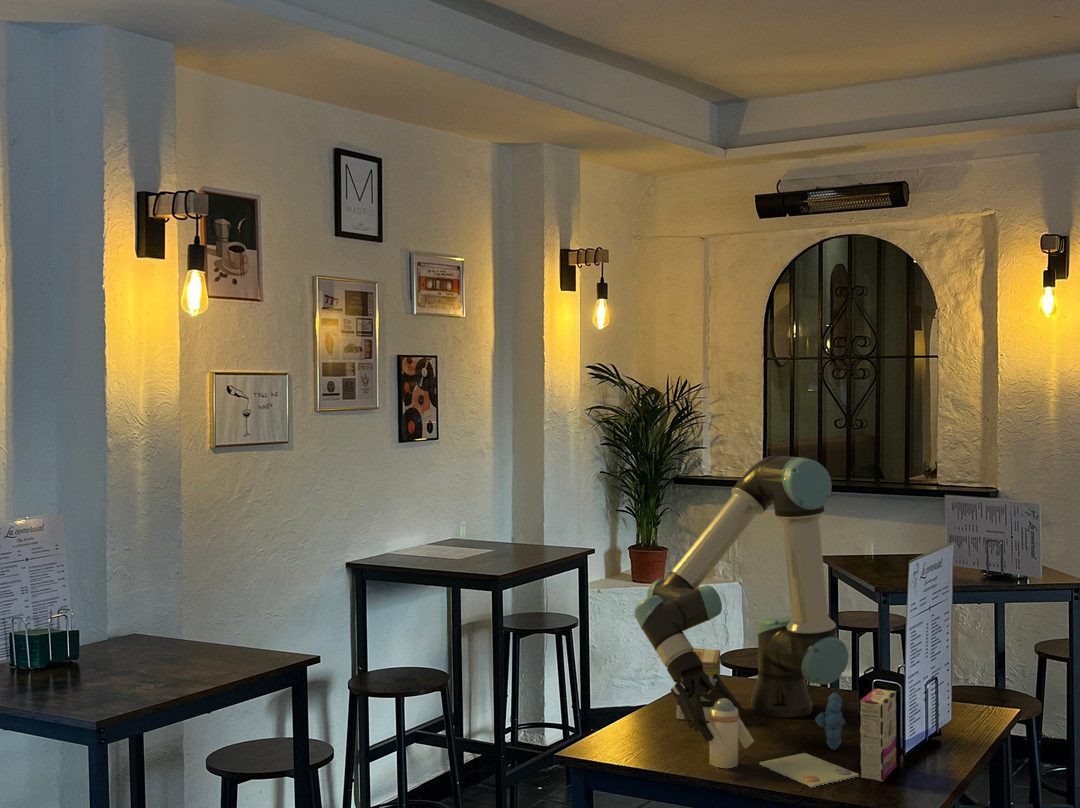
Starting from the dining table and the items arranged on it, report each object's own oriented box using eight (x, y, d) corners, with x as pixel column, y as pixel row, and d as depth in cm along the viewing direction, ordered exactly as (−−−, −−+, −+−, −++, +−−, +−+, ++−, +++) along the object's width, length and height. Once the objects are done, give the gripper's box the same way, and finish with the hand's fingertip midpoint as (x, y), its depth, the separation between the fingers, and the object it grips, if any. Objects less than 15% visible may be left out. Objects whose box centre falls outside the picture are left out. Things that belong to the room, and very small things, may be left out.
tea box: (717, 722, 272) (717, 661, 272) (675, 720, 274) (676, 659, 274) (720, 706, 287) (720, 648, 287) (680, 703, 289) (681, 646, 289)
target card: (804, 755, 247) (804, 751, 247) (859, 777, 234) (859, 773, 234) (759, 765, 241) (759, 761, 241) (812, 787, 227) (812, 783, 227)
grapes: (816, 737, 261) (816, 686, 260) (846, 740, 259) (846, 688, 258) (812, 752, 249) (813, 698, 249) (844, 756, 247) (844, 701, 247)
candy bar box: (873, 763, 242) (874, 687, 242) (897, 767, 240) (897, 690, 240) (858, 778, 233) (859, 699, 233) (882, 782, 230) (883, 702, 230)
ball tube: (725, 758, 245) (726, 693, 245) (744, 766, 240) (744, 700, 240) (703, 762, 242) (703, 697, 242) (721, 771, 237) (722, 703, 237)
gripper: (703, 662, 259) (757, 748, 247) (638, 676, 246) (692, 768, 234) (720, 643, 255) (777, 730, 243) (656, 656, 242) (712, 749, 230)
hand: (735, 748), depth 239 cm, fingers open, 8 cm apart
